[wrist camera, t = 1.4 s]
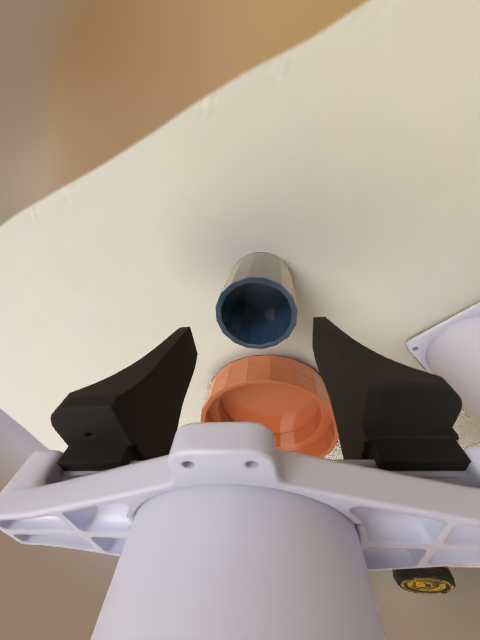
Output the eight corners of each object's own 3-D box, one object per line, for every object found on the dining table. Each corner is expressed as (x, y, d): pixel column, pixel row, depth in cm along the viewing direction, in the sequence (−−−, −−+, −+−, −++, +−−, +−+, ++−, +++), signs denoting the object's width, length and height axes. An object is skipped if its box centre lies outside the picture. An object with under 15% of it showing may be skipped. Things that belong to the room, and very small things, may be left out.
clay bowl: (356, 407, 29) (369, 442, 25) (265, 449, 36) (264, 482, 32) (273, 328, 25) (272, 354, 21) (187, 391, 32) (175, 421, 28)
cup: (305, 284, 22) (314, 319, 17) (259, 320, 25) (254, 360, 19) (262, 237, 21) (256, 259, 15) (218, 281, 23) (200, 313, 18)
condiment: (419, 460, 32) (486, 590, 22) (377, 486, 37) (416, 606, 26) (373, 441, 32) (419, 566, 21) (335, 470, 36) (358, 586, 26)
